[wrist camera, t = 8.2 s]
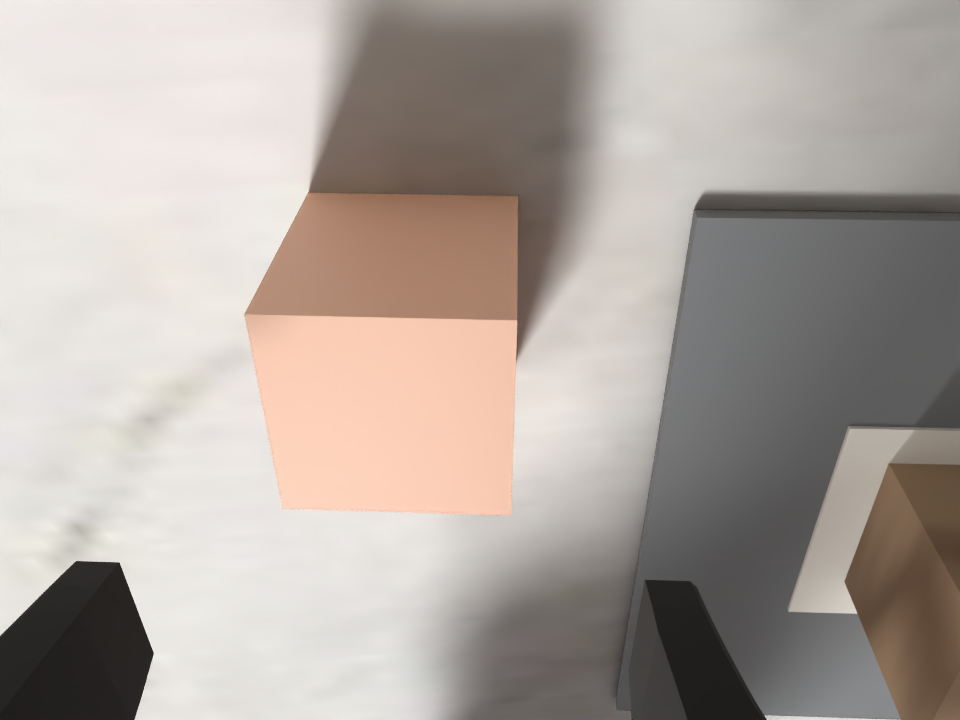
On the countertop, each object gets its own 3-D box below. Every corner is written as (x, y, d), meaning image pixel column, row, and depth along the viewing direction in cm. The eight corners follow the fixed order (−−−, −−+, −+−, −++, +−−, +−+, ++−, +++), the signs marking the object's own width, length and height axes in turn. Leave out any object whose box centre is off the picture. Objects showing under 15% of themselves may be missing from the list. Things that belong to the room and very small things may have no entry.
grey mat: (1097, 715, 27) (1107, 729, 27) (615, 699, 28) (617, 712, 27) (1478, 219, 17) (1502, 230, 16) (694, 209, 17) (697, 219, 17)
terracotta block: (513, 366, 20) (511, 515, 16) (331, 362, 20) (282, 508, 16) (517, 194, 17) (517, 320, 13) (309, 191, 17) (244, 314, 13)
